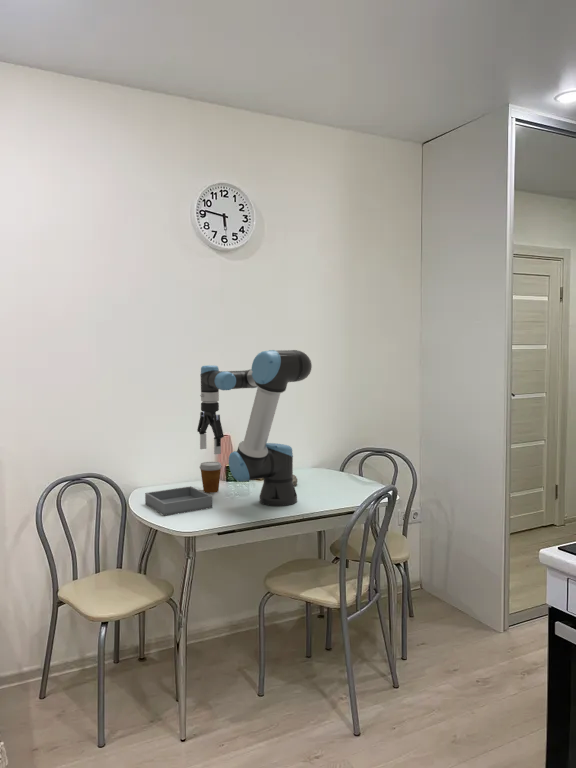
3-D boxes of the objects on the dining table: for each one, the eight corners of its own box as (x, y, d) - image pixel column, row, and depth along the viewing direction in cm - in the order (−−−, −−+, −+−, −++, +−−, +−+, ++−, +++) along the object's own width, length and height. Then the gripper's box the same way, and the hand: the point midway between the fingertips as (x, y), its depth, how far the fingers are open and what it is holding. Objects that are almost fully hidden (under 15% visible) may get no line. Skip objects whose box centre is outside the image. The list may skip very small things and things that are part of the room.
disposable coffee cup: (204, 495, 256) (204, 466, 256) (196, 490, 265) (196, 462, 264) (225, 492, 261) (225, 464, 260) (217, 487, 269) (216, 460, 269)
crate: (212, 507, 237) (212, 496, 237) (164, 515, 226) (164, 503, 226) (191, 497, 253) (190, 486, 253) (145, 504, 242) (145, 492, 242)
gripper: (189, 399, 269) (189, 447, 270) (215, 405, 248) (215, 457, 249) (204, 398, 273) (205, 446, 274) (231, 404, 252) (231, 455, 254)
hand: (210, 451), depth 262 cm, fingers open, 13 cm apart
